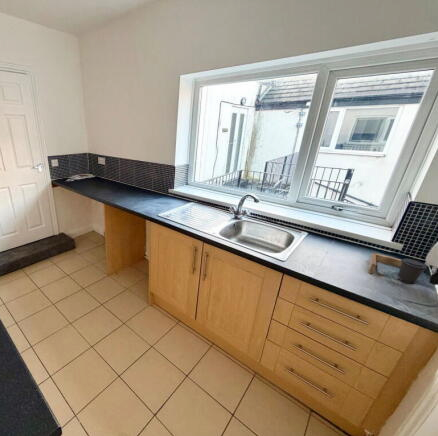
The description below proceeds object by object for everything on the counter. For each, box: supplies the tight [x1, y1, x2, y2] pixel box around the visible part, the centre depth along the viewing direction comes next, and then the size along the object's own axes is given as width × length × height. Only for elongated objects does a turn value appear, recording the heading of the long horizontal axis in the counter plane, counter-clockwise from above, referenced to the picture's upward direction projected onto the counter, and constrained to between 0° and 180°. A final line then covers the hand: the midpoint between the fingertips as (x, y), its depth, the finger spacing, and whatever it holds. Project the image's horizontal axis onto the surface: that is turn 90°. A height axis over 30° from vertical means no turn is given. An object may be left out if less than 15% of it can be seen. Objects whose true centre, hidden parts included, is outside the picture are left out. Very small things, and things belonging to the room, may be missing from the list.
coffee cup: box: [397, 258, 428, 286], centre depth 107 cm, size 8×8×10 cm
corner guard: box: [367, 252, 402, 275], centre depth 115 cm, size 16×14×5 cm
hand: (434, 283), depth 98 cm, fingers closed
